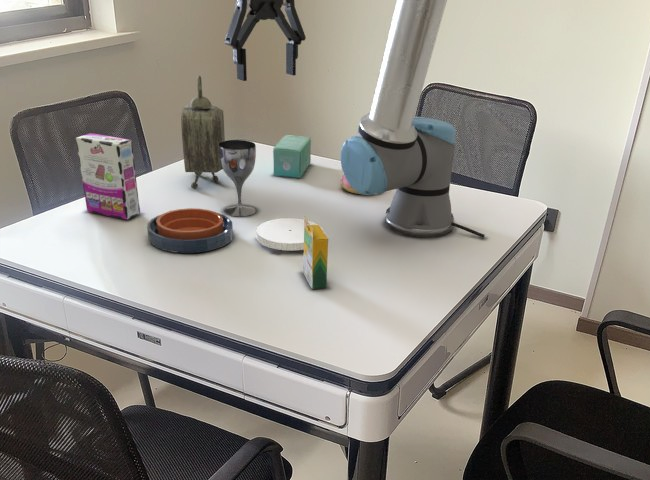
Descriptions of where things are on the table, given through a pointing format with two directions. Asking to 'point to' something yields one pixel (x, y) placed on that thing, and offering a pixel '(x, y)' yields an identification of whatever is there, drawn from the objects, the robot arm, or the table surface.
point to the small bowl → (189, 224)
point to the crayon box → (315, 255)
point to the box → (292, 156)
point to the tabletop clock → (202, 136)
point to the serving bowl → (190, 244)
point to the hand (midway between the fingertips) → (267, 77)
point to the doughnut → (347, 185)
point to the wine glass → (238, 169)
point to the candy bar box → (108, 175)
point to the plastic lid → (282, 234)
